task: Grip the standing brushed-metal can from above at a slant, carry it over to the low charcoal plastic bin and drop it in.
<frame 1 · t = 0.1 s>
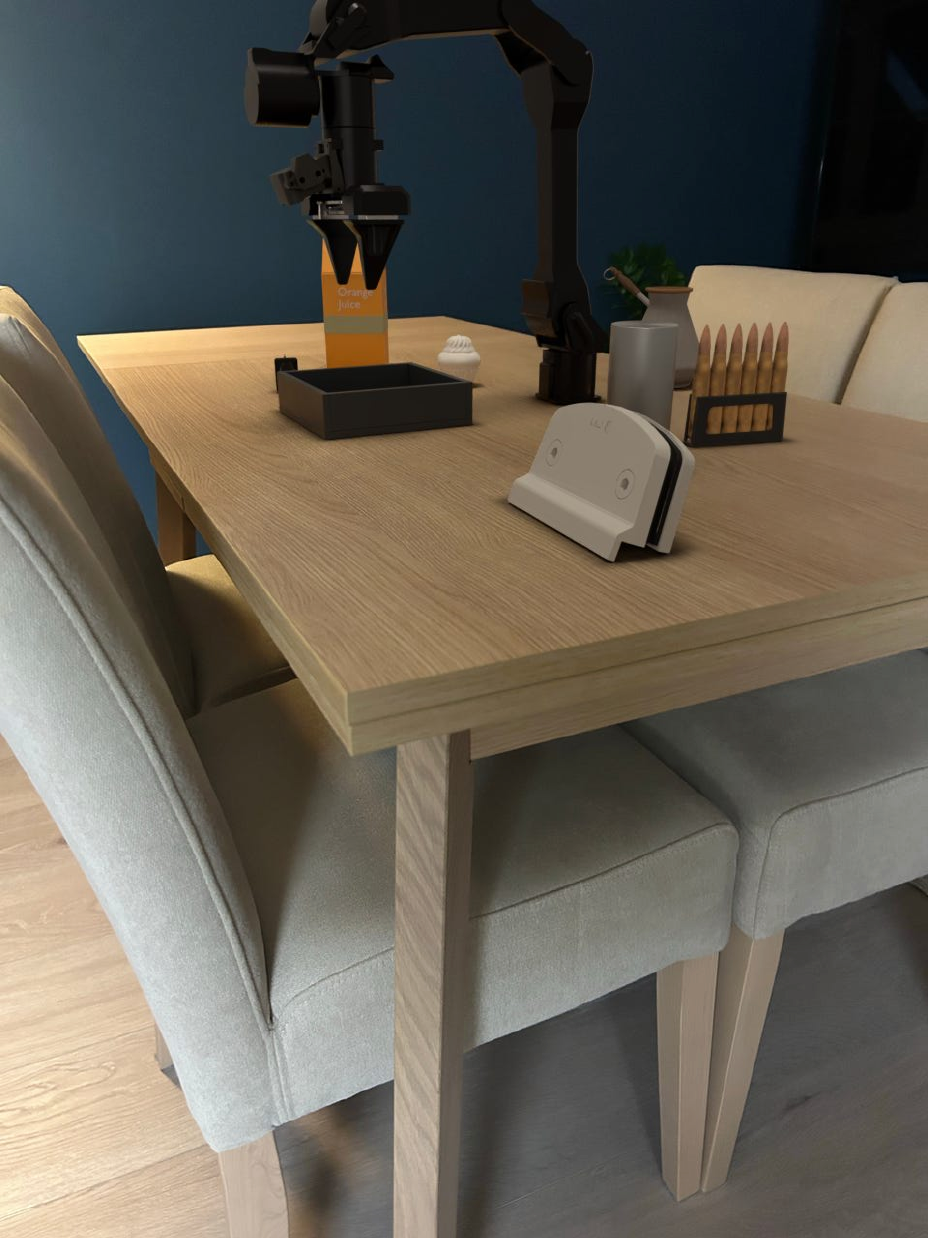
hand: (356, 287, 104), 15 cm above the table, tool pointing down, fingers open, 9 cm apart
ammunition clip: (732, 443, 99), on the table
orange juice: (358, 372, 144), on the table
metal can: (634, 466, 89), on the table
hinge: (596, 526, 73), on the table
coffee pot: (642, 380, 136), on the table
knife: (288, 389, 130), on the table
bin: (372, 417, 111), on the table
muffin: (459, 386, 132), on the table
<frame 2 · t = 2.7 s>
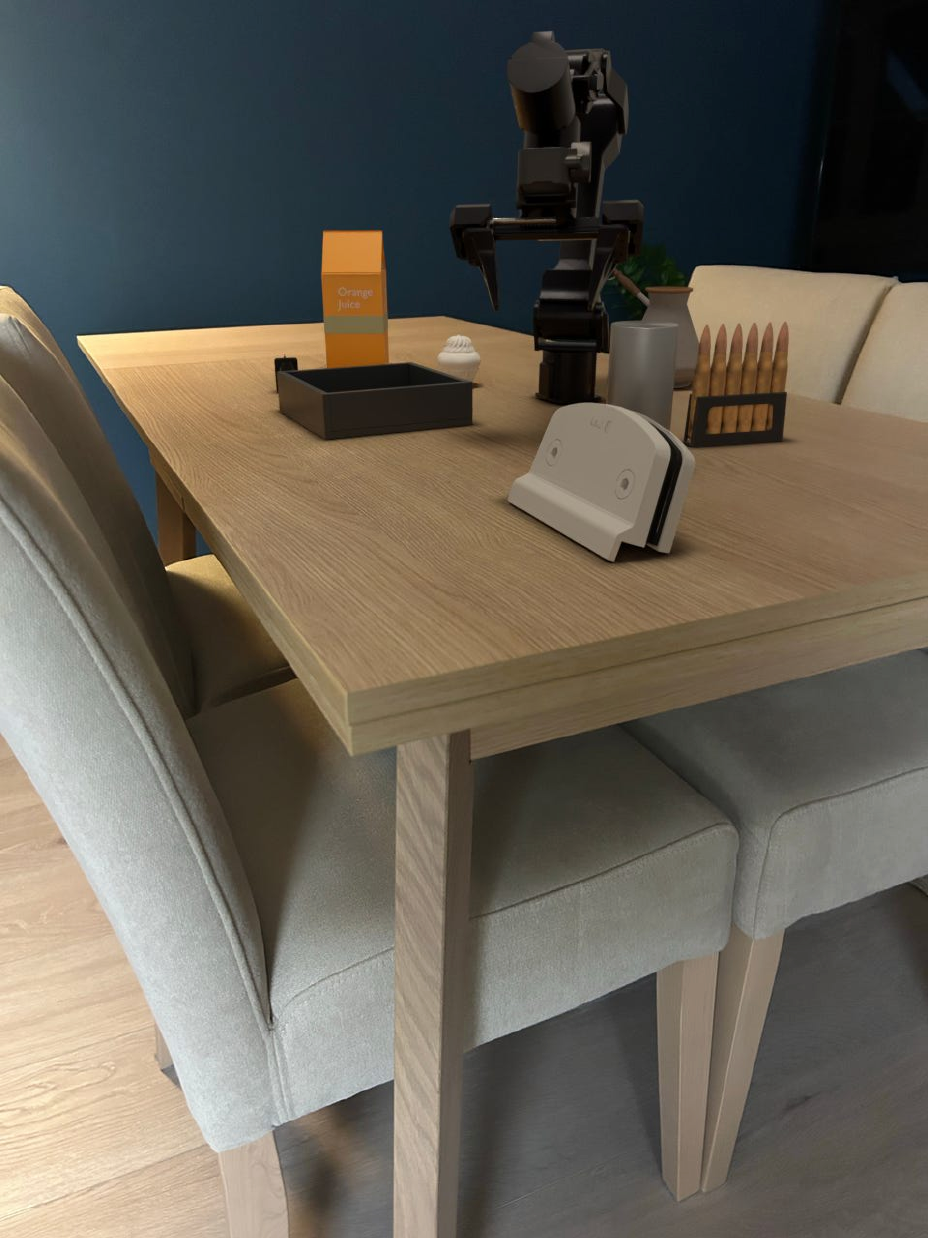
hand: (542, 308, 91), 14 cm above the table, tool tilted 35°, fingers open, 9 cm apart
nothing on the table moved.
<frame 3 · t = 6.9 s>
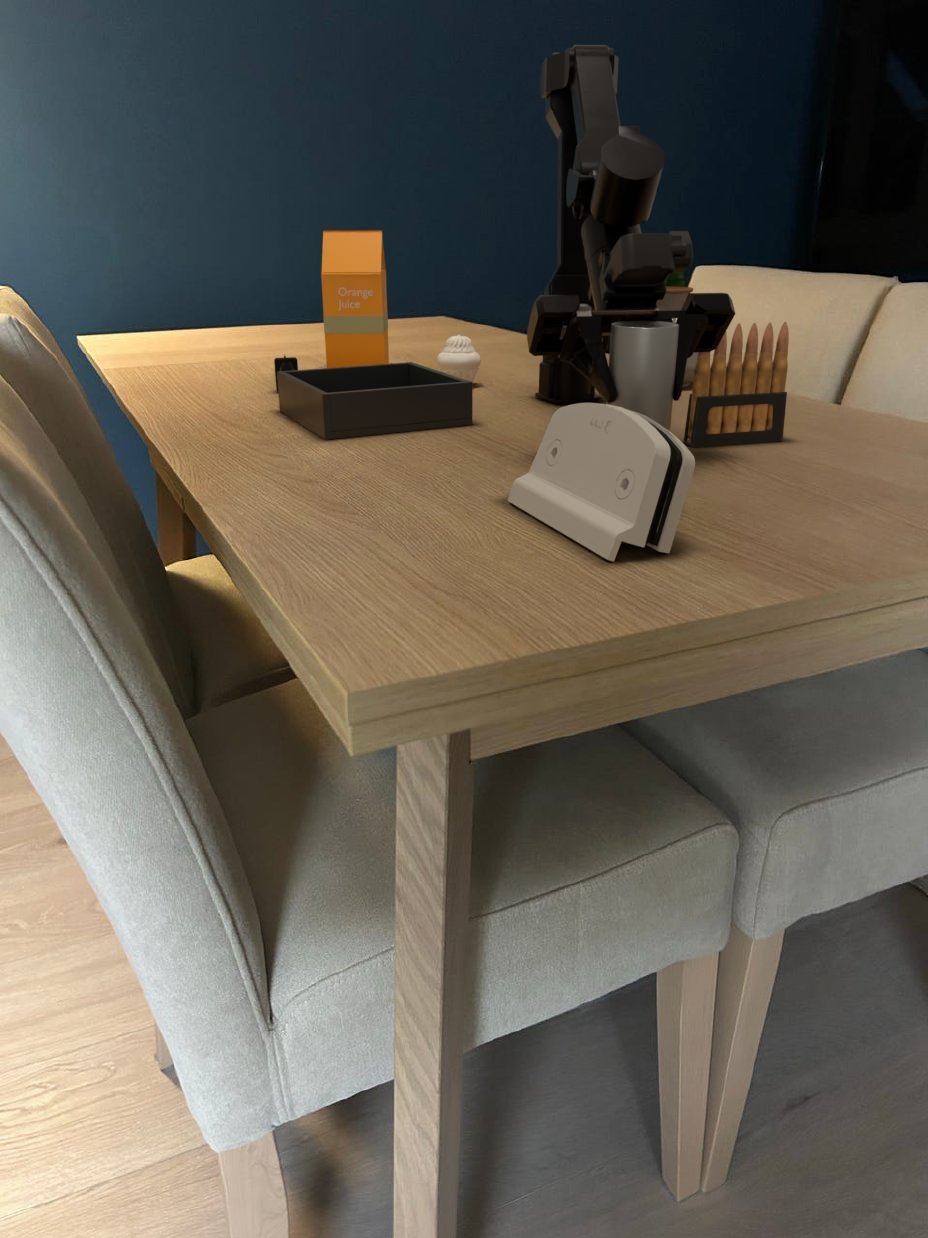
hand: (644, 398, 85), 7 cm above the table, tool tilted 45°, fingers closed on metal can, 6 cm apart
metal can: (634, 466, 89), on the table, touching gripper
everything else where it was.
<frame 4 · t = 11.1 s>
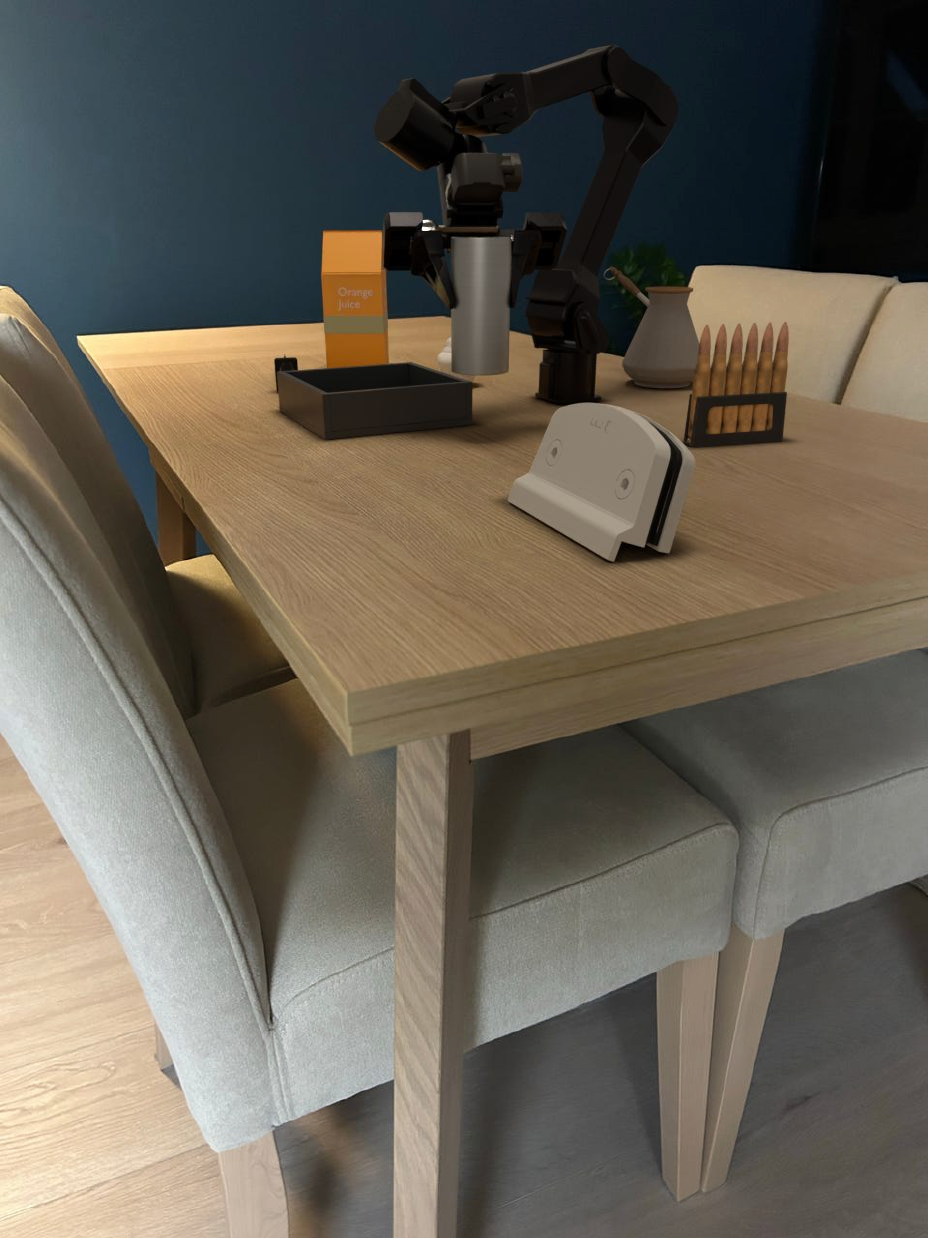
hand: (482, 305, 94), 14 cm above the table, tool tilted 45°, fingers closed on metal can, 6 cm apart
metal can: (479, 371, 98), point 7 cm above the table, touching gripper
everything else where it was.
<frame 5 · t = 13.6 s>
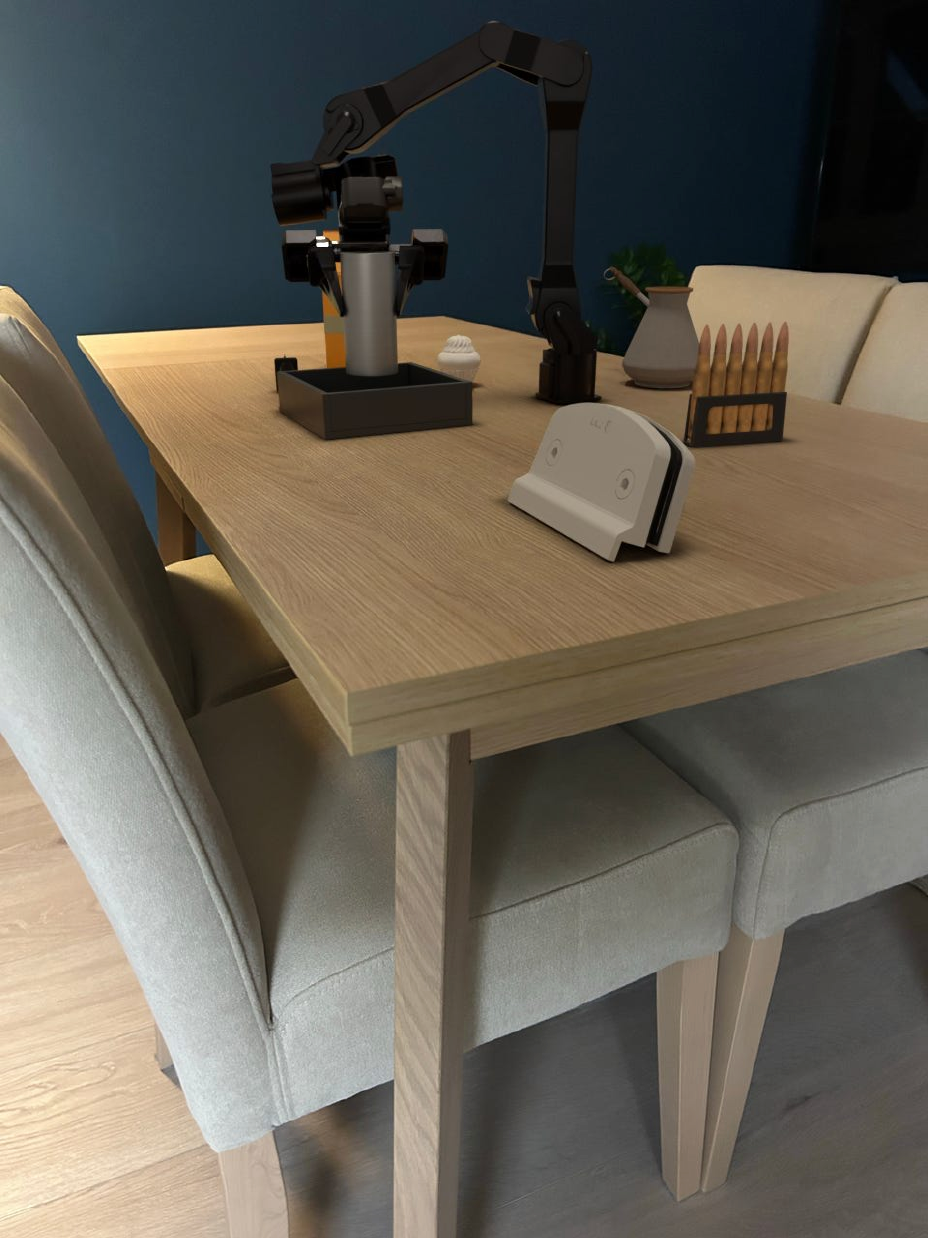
hand: (370, 313, 105), 12 cm above the table, tool tilted 45°, fingers closed on metal can, 6 cm apart
metal can: (372, 372, 109), point 5 cm above the table, touching gripper
everything else where it was.
when the fingers open (7 cm above the table, at t = 15.4 s): metal can stays where it is, resting on bin.
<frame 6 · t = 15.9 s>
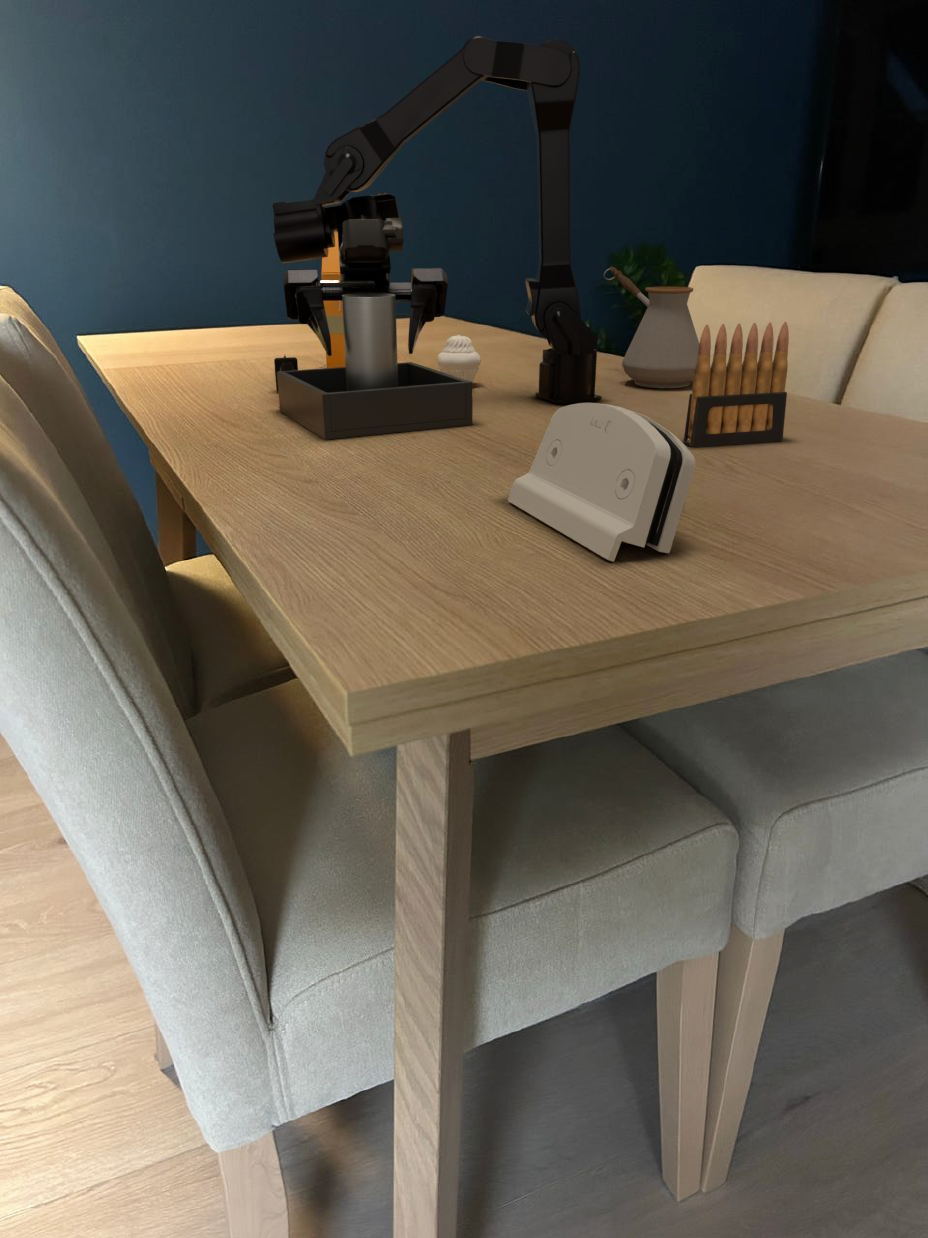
hand: (370, 352, 106), 8 cm above the table, tool tilted 45°, fingers open, 9 cm apart
metal can: (373, 411, 110), point 1 cm above the table, touching bin
everything else where it was.
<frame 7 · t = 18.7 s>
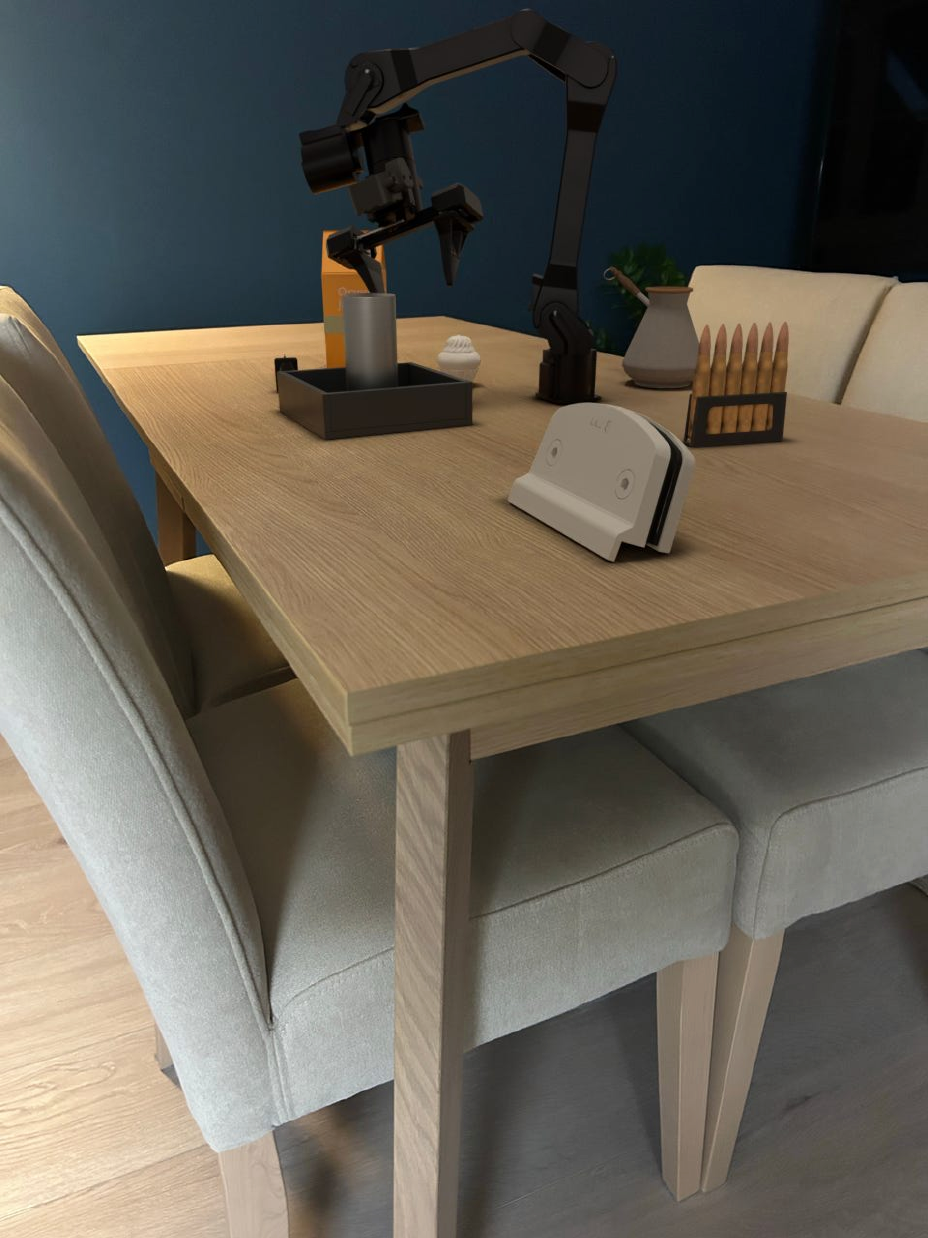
hand: (415, 298, 111), 13 cm above the table, tool tilted 25°, fingers open, 9 cm apart
nothing on the table moved.
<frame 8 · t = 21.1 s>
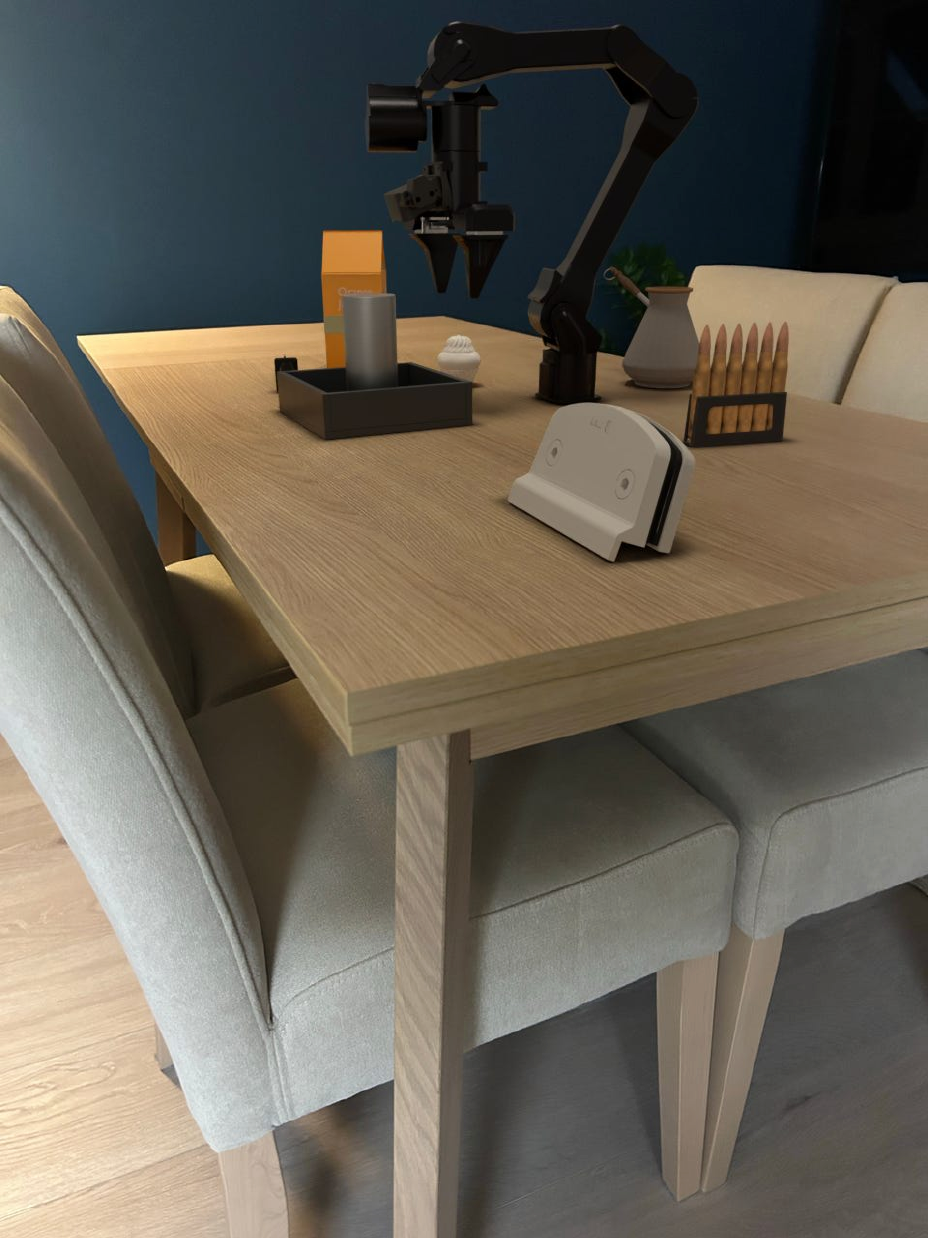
hand: (457, 295, 114), 13 cm above the table, tool pointing down, fingers open, 9 cm apart
nothing on the table moved.
at the end: metal can inside the target area in the bin (0.1 cm from its centre), point 0.8 cm above the bin's base; the gripper is holding nothing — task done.
